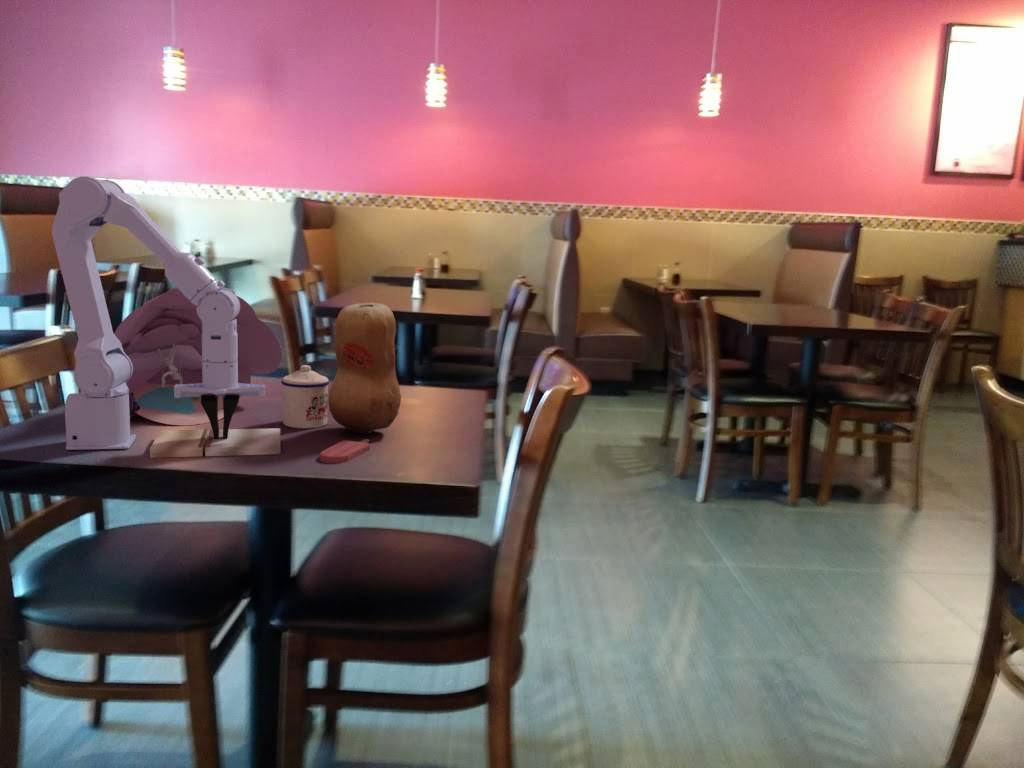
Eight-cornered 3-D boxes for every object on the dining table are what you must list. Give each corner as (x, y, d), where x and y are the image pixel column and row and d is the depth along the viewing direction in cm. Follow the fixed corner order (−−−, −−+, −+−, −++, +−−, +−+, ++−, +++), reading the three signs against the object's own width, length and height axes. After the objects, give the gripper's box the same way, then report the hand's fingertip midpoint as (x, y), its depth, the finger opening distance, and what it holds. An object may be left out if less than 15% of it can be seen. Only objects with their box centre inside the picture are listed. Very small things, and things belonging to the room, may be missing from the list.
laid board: (150, 457, 127) (149, 448, 127) (160, 438, 139) (160, 429, 138) (202, 456, 130) (202, 447, 129) (208, 437, 141) (208, 429, 141)
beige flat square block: (205, 456, 130) (205, 446, 130) (211, 437, 141) (210, 429, 141) (280, 454, 133) (280, 445, 133) (280, 436, 145) (280, 427, 144)
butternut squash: (316, 437, 145) (318, 303, 141) (342, 421, 158) (344, 298, 154) (388, 444, 144) (392, 308, 139) (408, 427, 157) (412, 303, 152)
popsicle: (380, 437, 144) (342, 458, 129) (380, 446, 144) (342, 467, 130) (354, 434, 145) (313, 454, 131) (354, 442, 145) (313, 463, 131)
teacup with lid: (312, 431, 150) (312, 371, 147) (271, 425, 152) (271, 366, 150) (344, 419, 161) (345, 363, 159) (306, 413, 164) (306, 358, 161)
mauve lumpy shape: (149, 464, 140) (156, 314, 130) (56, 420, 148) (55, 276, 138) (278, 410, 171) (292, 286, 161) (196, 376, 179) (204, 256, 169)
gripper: (171, 363, 127) (172, 444, 130) (264, 364, 132) (264, 442, 134) (176, 356, 134) (178, 433, 137) (264, 357, 138) (264, 432, 141)
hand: (220, 437), depth 136 cm, fingers closed
